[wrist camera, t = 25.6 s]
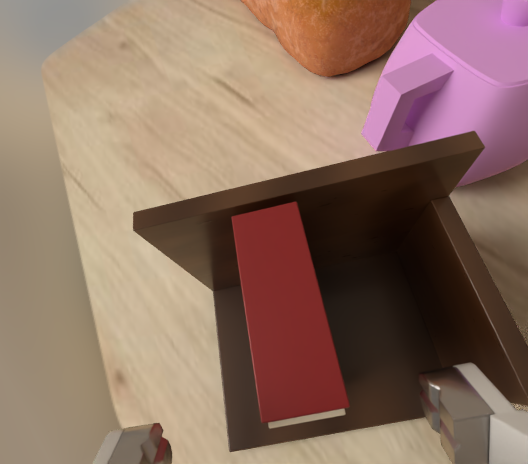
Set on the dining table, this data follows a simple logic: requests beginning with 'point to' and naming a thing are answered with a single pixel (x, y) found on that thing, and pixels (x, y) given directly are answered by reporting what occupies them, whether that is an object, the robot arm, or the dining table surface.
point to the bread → (333, 30)
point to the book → (286, 320)
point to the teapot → (458, 83)
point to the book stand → (359, 283)
